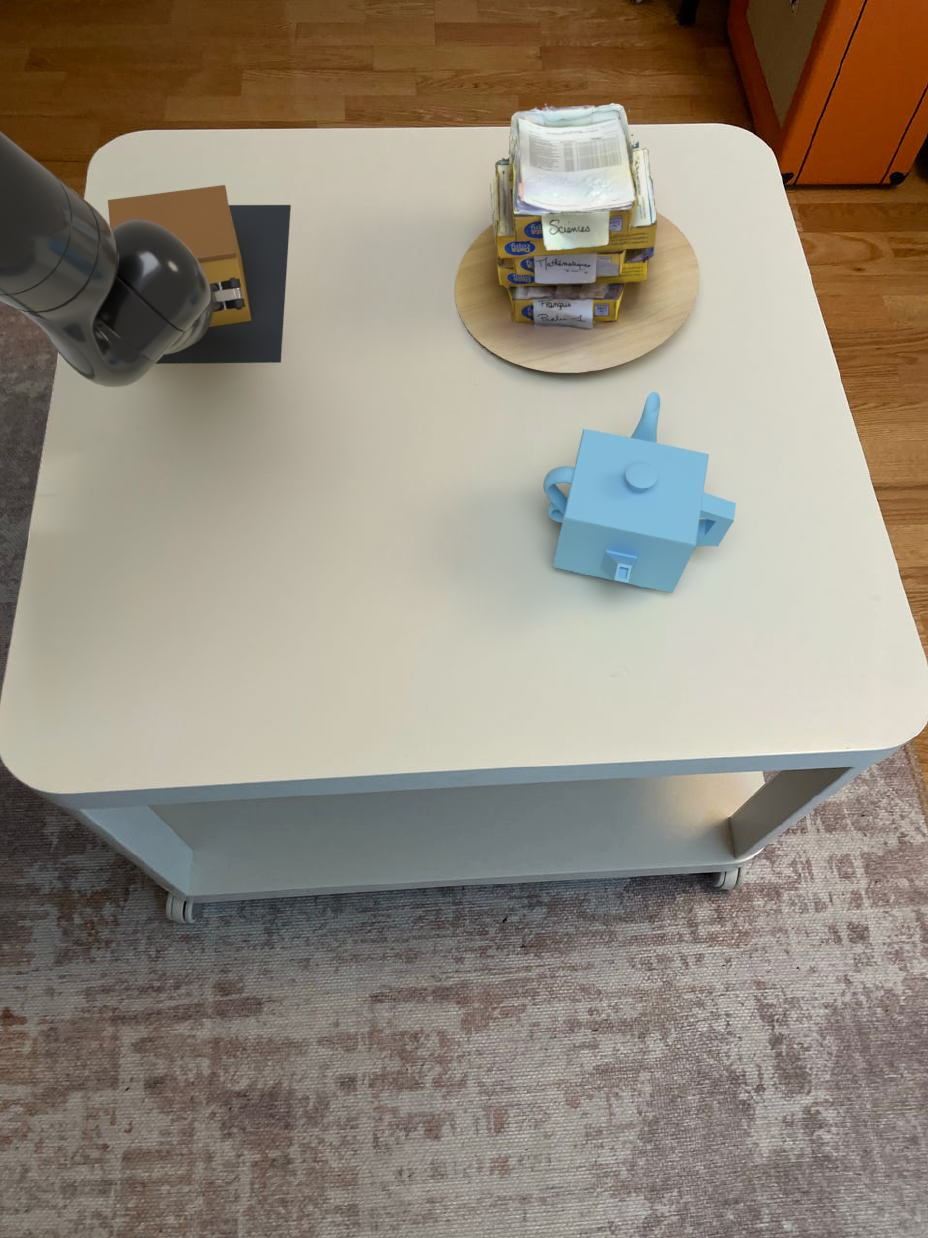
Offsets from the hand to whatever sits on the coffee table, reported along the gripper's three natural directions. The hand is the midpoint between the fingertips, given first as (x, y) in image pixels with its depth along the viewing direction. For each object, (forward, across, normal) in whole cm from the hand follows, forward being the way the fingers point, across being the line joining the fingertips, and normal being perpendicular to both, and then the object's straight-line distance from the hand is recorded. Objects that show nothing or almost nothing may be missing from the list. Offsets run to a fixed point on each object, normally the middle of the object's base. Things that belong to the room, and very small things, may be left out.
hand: (183, 303), depth 91 cm
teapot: (-19, -35, +26) cm, 48 cm away
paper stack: (+2, -39, +5) cm, 40 cm away
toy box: (+7, 0, -1) cm, 7 cm away
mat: (+8, -2, -2) cm, 9 cm away
